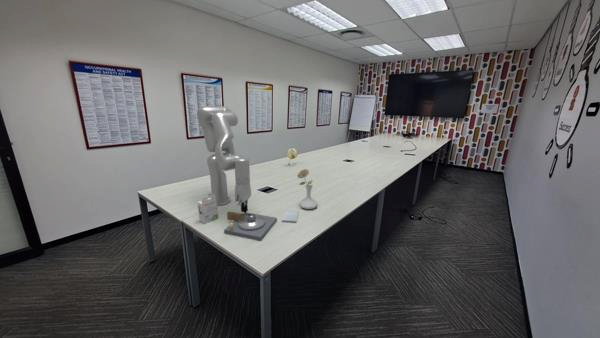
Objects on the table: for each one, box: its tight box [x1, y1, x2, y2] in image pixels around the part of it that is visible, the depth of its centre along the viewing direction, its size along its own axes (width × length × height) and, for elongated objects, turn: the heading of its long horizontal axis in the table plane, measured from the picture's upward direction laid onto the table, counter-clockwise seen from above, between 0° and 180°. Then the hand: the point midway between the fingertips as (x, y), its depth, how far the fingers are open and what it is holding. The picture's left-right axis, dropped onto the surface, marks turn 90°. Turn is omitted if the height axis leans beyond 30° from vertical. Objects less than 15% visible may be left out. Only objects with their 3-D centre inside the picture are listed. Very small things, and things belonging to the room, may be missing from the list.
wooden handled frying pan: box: [226, 211, 265, 230], centre depth 122 cm, size 21×14×4 cm, turn 73°
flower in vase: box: [297, 168, 318, 210], centre depth 143 cm, size 13×11×25 cm
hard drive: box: [281, 210, 300, 224], centre depth 133 cm, size 2×8×12 cm
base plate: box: [223, 212, 278, 242], centre depth 121 cm, size 20×20×6 cm
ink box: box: [197, 194, 219, 224], centre depth 126 cm, size 9×5×15 cm, turn 141°
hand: (244, 211), depth 129 cm, fingers closed
